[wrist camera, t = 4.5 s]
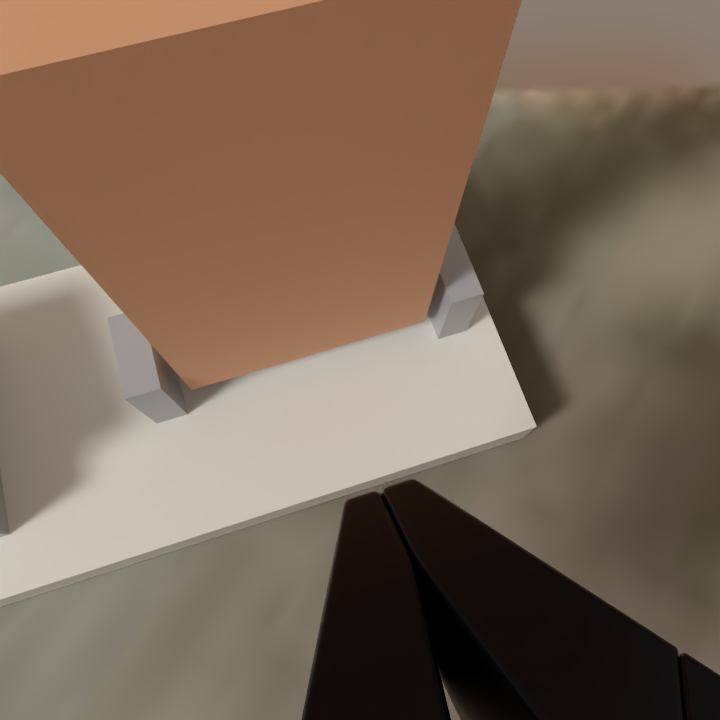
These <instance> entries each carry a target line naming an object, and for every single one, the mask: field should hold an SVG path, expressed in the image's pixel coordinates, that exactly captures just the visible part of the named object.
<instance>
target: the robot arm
mask: <svg viewBox="0 0 720 720" xmlns="http://www.w3.org/2000/svg"><path fill="white" fill-rule="evenodd" d="M441 679H442V680H441ZM442 681H443V683H444V686H445V688H446V690H447V692H448V694H449V696H450V698H451V701H452V703H453V705H454V707H455V709H456V711H457V713H458V715H459V717H460V719H461V720H720V675H719V674H717V673H716V672H714V671H712V670H711V669H709V668H708V667H706V666H705V665H703V664H702V663H700V662H699V661H697V660H696V659H694V658H692V657H691V656H689V655H688V654H685V653H683V654H681V655H680V656H679V655H678V650H677V648H676V647H675V646H673V645H672V644H670V643H669V642H667V641H666V640H664V639H662V638H661V637H659V636H658V635H656V634H655V633H653V632H652V631H650V630H649V629H647V628H645V627H644V626H642V625H641V624H639V623H638V622H636V621H635V620H633V619H632V618H630V617H628V616H627V615H625V614H624V613H622V612H621V611H619V610H618V609H616V608H615V607H613V606H611V605H610V604H608V603H607V602H605V601H604V600H602V599H601V598H599V597H597V596H596V595H594V594H593V593H591V592H590V591H588V590H587V589H585V588H584V587H582V586H580V585H579V584H577V583H576V582H574V581H573V580H571V579H570V578H568V577H567V576H565V575H563V574H562V573H560V572H559V571H557V570H556V569H554V568H553V567H551V566H550V565H548V564H546V563H545V562H543V561H542V560H540V559H539V558H537V557H536V556H534V555H533V554H531V553H529V552H528V551H526V550H525V549H523V548H522V547H520V546H519V545H517V544H515V543H514V542H512V541H511V540H509V539H508V538H506V537H505V536H503V535H502V534H500V533H498V532H497V531H495V530H494V529H492V528H491V527H489V526H488V525H486V524H485V523H483V522H481V521H480V520H478V519H477V518H475V517H474V516H472V515H471V514H469V513H468V512H466V511H464V510H463V509H461V508H460V507H458V506H457V505H455V504H454V503H452V502H450V501H449V500H447V499H446V498H444V497H443V496H441V495H440V494H438V493H437V492H435V491H433V490H432V489H430V488H429V487H427V486H426V485H424V484H423V483H421V482H420V481H418V480H416V479H407V480H404V481H401V482H398V483H395V484H392V485H389V486H386V487H384V488H383V489H382V492H381V494H380V493H379V492H378V491H370V492H367V493H364V494H361V495H358V496H355V497H352V498H349V499H347V500H346V502H345V504H344V507H343V512H342V517H341V522H340V527H339V532H338V537H337V542H336V547H335V552H334V557H333V562H332V567H331V573H330V578H329V583H328V588H327V593H326V598H325V603H324V608H323V613H322V618H321V623H320V628H319V634H318V639H317V644H316V649H315V654H314V659H313V664H312V669H311V674H310V679H309V684H308V689H307V695H306V700H305V705H304V710H303V715H302V720H451V718H450V714H449V710H448V706H447V701H446V697H445V693H444V689H443V684H442Z"/></svg>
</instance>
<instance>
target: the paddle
mask: <svg viewBox="0 0 720 720" xmlns="http://www.w3.org/2000/svg"><path fill="white" fill-rule="evenodd" d="M521 1H522V0H0V173H1V174H2V175H3V176H4V178H5V179H6V180H7V181H8V182H9V183H10V184H11V186H12V187H13V188H14V189H15V190H16V191H17V192H18V194H19V195H20V196H21V197H22V198H23V199H24V200H25V201H26V203H27V204H28V205H29V206H30V207H31V208H32V209H33V211H34V212H35V213H36V214H37V215H38V216H39V217H40V219H41V220H42V221H43V222H44V223H45V224H46V225H47V226H48V228H49V229H50V230H51V231H52V232H53V233H54V234H55V236H56V237H57V238H58V239H59V240H60V241H61V242H62V244H63V245H64V246H65V247H66V248H67V249H68V250H69V251H70V253H71V254H72V255H73V256H74V257H75V258H76V259H77V261H78V262H79V263H80V264H81V265H82V266H83V267H84V269H85V270H86V271H87V272H88V273H89V274H90V275H91V276H92V278H93V279H94V280H95V281H96V282H97V283H98V284H99V286H100V287H101V288H102V289H103V290H104V291H105V292H106V294H107V295H108V296H109V297H110V298H111V299H112V300H113V301H114V303H115V304H116V305H117V306H118V307H119V308H120V309H121V311H122V312H123V313H124V314H125V315H126V316H127V317H128V319H129V320H130V321H131V322H132V323H133V324H134V325H135V326H136V328H137V329H138V330H139V331H140V332H141V333H142V334H143V336H144V337H145V338H146V339H147V340H148V341H149V342H150V344H151V345H152V346H153V347H154V348H155V349H156V350H157V351H158V353H159V354H160V355H161V356H162V357H163V358H164V359H165V361H166V362H167V363H168V364H169V365H170V366H171V367H172V369H173V370H174V371H175V372H176V373H177V374H178V375H179V376H180V378H181V379H182V380H183V381H184V382H185V383H186V384H187V386H188V387H189V388H190V389H191V390H194V389H197V388H200V387H204V386H207V385H210V384H214V383H217V382H221V381H224V380H227V379H231V378H234V377H238V376H241V375H244V374H248V373H251V372H254V371H258V370H261V369H265V368H268V367H271V366H275V365H278V364H281V363H285V362H288V361H292V360H295V359H298V358H302V357H305V356H309V355H312V354H315V353H319V352H322V351H325V350H329V349H332V348H336V347H339V346H342V345H346V344H349V343H352V342H356V341H359V340H363V339H366V338H369V337H373V336H376V335H380V334H383V333H386V332H390V331H393V330H396V329H400V328H403V327H407V326H410V325H413V324H417V323H420V322H424V321H425V319H426V316H427V312H428V309H429V306H430V303H431V299H432V296H433V293H434V289H435V286H436V283H437V279H438V276H439V273H440V269H441V266H442V263H443V259H444V256H445V253H446V250H447V246H448V243H449V240H450V236H451V233H452V230H453V226H454V223H455V220H456V216H457V213H458V210H459V206H460V203H461V200H462V196H463V193H464V190H465V187H466V183H467V180H468V177H469V173H470V170H471V167H472V163H473V160H474V157H475V153H476V150H477V147H478V143H479V140H480V137H481V133H482V130H483V127H484V124H485V120H486V117H487V114H488V110H489V107H490V104H491V100H492V97H493V94H494V90H495V87H496V84H497V80H498V77H499V74H500V70H501V67H502V63H503V61H504V57H505V54H506V51H507V47H508V44H509V40H510V37H511V34H512V31H513V27H514V24H515V21H516V17H517V14H518V11H519V8H520V4H521Z"/></svg>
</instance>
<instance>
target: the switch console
mask: <svg viewBox="0 0 720 720" xmlns="http://www.w3.org/2000/svg"><path fill="white" fill-rule="evenodd" d="M483 295H484V292H483V290H482V288H481V285H480V283H479V280H478V278H477V276H476V273H475V271H474V268H473V266H472V264H471V261H470V259H469V256H468V254H467V252H466V249H465V247H464V244H463V242H462V240H461V237H460V235H459V232H458V230H457V228H456V225H455V223H454V226H453V230H452V233H451V236H450V240H449V243H448V246H447V250H446V253H445V256H444V259H443V263H442V266H441V269H440V273H439V276H438V279H437V283H436V286H435V289H434V293H433V296H432V299H431V303H430V306H429V309H428V312H427V316H426V319H425V321H424V322H420V323H417V324H413V325H410V326H407V327H403V328H400V329H396V330H393V331H390V332H386V333H383V334H380V335H376V336H373V337H369V338H366V339H363V340H359V341H356V342H352V343H349V344H346V345H342V346H339V347H336V348H332V349H329V350H325V351H322V352H319V353H315V354H312V355H309V356H305V357H302V358H298V359H295V360H292V361H288V362H285V363H281V364H278V365H275V366H271V367H268V368H265V369H261V370H258V371H254V372H251V373H248V374H244V375H241V376H238V377H234V378H231V379H227V380H224V381H221V382H217V383H214V384H210V385H207V386H204V387H200V388H197V389H194V390H191V389H190V388H189V387H188V386H187V384H186V383H185V382H184V381H183V380H182V379H181V378H180V376H179V375H178V374H177V373H176V372H175V371H174V370H173V369H172V367H171V366H170V365H169V364H168V363H167V362H166V361H165V359H164V358H163V357H162V356H161V355H160V354H159V353H158V351H157V350H156V349H155V348H154V347H153V346H152V345H151V344H150V342H149V341H148V340H147V339H146V338H145V337H144V336H143V334H142V333H141V332H140V331H139V330H138V329H137V328H136V326H135V325H134V324H133V323H132V322H131V321H130V320H129V319H128V317H127V316H126V315H125V314H124V313H123V312H122V311H121V309H120V308H119V307H118V306H117V305H116V304H115V303H114V301H113V300H112V299H111V298H110V297H109V296H108V295H107V294H106V292H105V291H104V290H103V289H102V288H101V287H100V286H99V284H98V283H97V282H96V281H95V280H94V279H93V278H92V276H91V275H90V274H89V273H88V272H87V271H86V270H85V269H84V267H83V266H82V265H80V266H76V267H72V268H69V269H65V270H61V271H58V272H54V273H50V274H46V275H43V276H39V277H35V278H31V279H28V280H24V281H20V282H16V283H13V284H9V285H5V286H2V287H0V607H2V606H5V605H8V604H11V603H14V602H17V601H20V600H24V599H27V598H30V597H33V596H36V595H39V594H42V593H45V592H48V591H51V590H54V589H58V588H61V587H64V586H67V585H70V584H73V583H76V582H79V581H82V580H85V579H88V578H92V577H95V576H98V575H101V574H104V573H107V572H110V571H113V570H116V569H119V568H122V567H126V566H129V565H132V564H135V563H138V562H141V561H144V560H147V559H150V558H153V557H156V556H160V555H163V554H166V553H169V552H172V551H175V550H178V549H181V548H184V547H187V546H190V545H194V544H197V543H200V542H203V541H206V540H209V539H212V538H215V537H218V536H221V535H224V534H228V533H231V532H234V531H237V530H240V529H243V528H246V527H249V526H252V525H255V524H258V523H262V522H265V521H268V520H271V519H274V518H277V517H280V516H283V515H286V514H289V513H292V512H296V511H299V510H302V509H305V508H308V507H311V506H314V505H317V504H320V503H323V502H326V501H330V500H333V499H336V498H339V497H342V496H345V495H348V494H351V493H354V492H357V491H360V490H364V489H367V488H370V487H373V486H376V485H379V484H382V483H385V482H388V481H391V480H394V479H398V478H401V477H404V476H407V475H410V474H413V473H416V472H419V471H422V470H425V469H428V468H432V467H435V466H438V465H441V464H444V463H447V462H450V461H453V460H456V459H459V458H462V457H466V456H469V455H472V454H475V453H478V452H481V451H484V450H487V449H490V448H493V447H496V446H500V445H503V444H506V443H509V442H512V441H515V440H518V439H521V438H523V437H524V436H525V435H527V434H528V433H529V432H531V431H532V430H533V429H534V428H536V427H537V426H536V424H535V421H534V419H533V416H532V414H531V412H530V409H529V407H528V404H527V402H526V399H525V397H524V395H523V392H522V390H521V387H520V385H519V383H518V380H517V378H516V375H515V373H514V371H513V368H512V366H511V363H510V361H509V359H508V356H507V354H506V351H505V349H504V347H503V344H502V342H501V339H500V337H499V334H498V332H497V330H496V327H495V325H494V322H493V320H492V318H491V315H490V313H489V310H488V308H487V306H486V303H485V301H484V298H483Z"/></svg>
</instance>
